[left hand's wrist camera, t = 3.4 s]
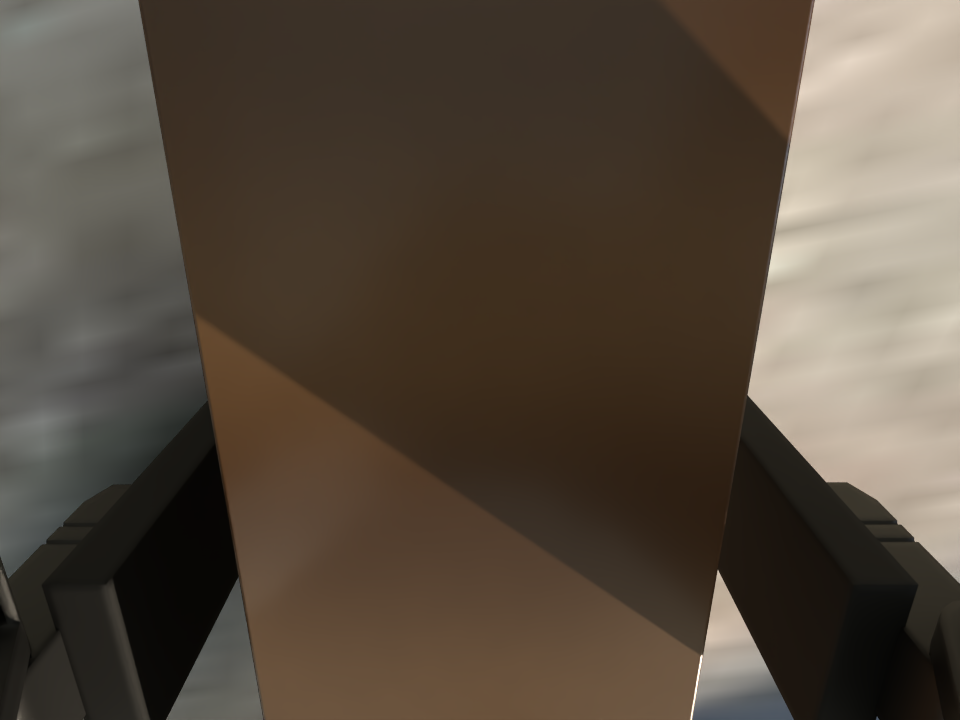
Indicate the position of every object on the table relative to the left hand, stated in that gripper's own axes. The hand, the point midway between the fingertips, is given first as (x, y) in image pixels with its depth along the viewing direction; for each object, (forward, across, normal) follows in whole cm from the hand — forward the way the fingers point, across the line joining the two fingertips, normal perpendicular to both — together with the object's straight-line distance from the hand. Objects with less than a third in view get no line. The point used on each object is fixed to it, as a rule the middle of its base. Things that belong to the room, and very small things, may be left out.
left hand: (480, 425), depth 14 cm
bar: (+1, 0, -30) cm, 30 cm away
